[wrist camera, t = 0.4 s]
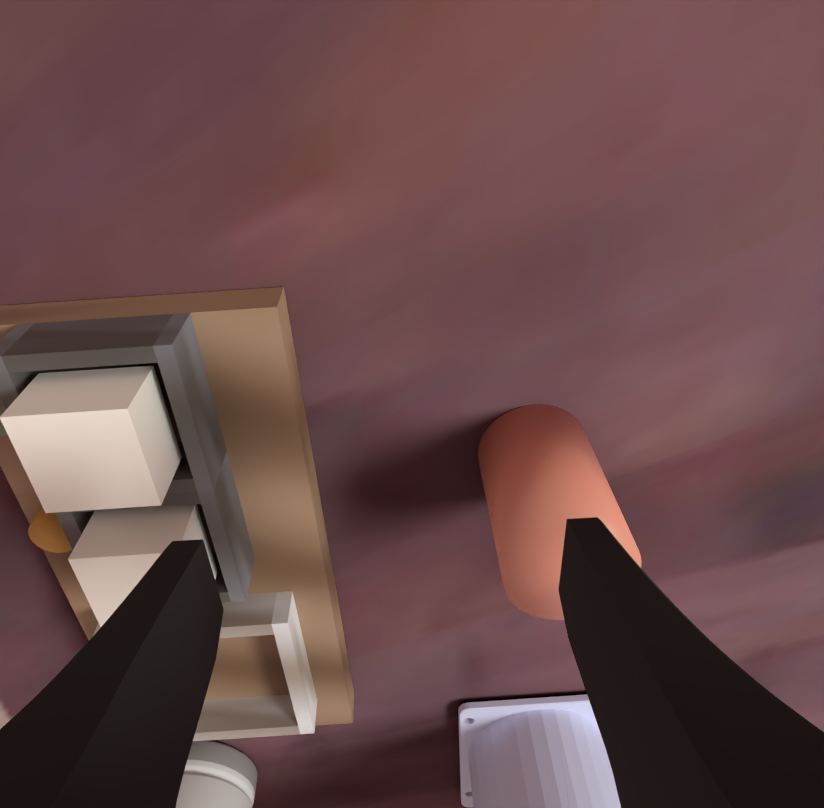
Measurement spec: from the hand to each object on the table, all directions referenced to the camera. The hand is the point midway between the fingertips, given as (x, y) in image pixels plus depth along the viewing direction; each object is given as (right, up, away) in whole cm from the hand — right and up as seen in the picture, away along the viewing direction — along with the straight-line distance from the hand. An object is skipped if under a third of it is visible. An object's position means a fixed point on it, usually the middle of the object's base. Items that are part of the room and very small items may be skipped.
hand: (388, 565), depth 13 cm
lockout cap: (+5, +2, +11) cm, 12 cm away
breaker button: (-8, +3, +6) cm, 11 cm away
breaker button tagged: (-8, -1, +9) cm, 12 cm away
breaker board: (-8, -2, +13) cm, 15 cm away
